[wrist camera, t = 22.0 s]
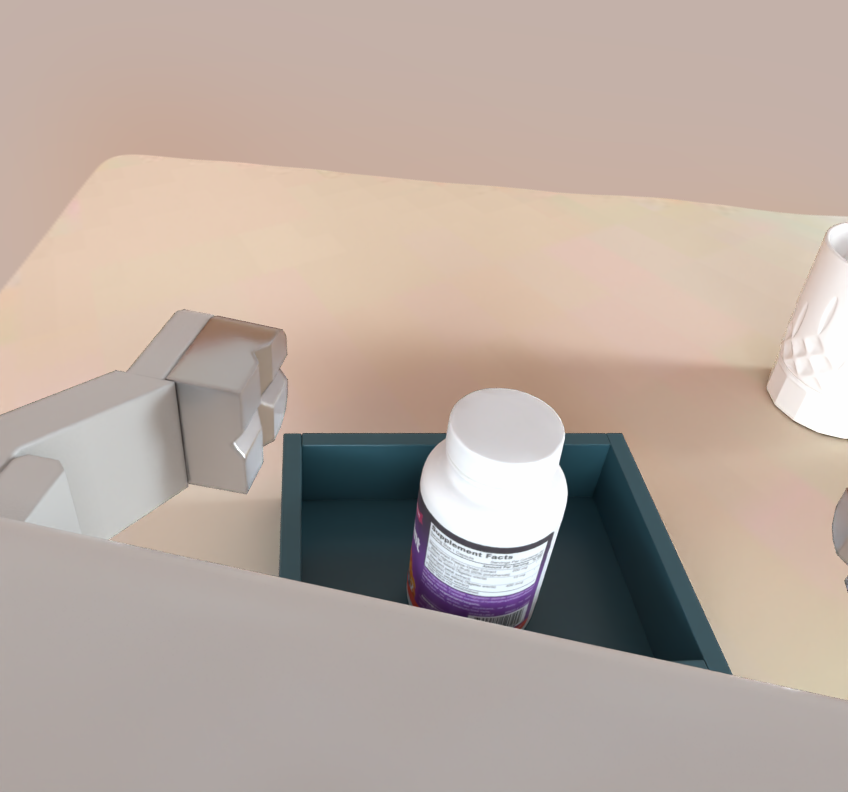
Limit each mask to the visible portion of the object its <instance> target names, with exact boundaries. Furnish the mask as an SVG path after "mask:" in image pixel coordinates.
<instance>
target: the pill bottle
mask: <svg viewBox="0 0 848 792" xmlns="http://www.w3.org/2000/svg"><path fill="white" fill-rule="evenodd" d="M564 440H565V431H564V426H563V423H562V421H561V419H560V417H559V416H558V414H557V413H556V412H555V411H554V410H553V409H552V408H551V407H550V406H549V405H548V404H546V403H545V402H543V401H542V400H540V399H539V398H537V397H535V396H532V395H530V394H528V393H525V392H522V391H518V390H513V389H507V388H487V389H482V390H477V391H474V392H472V393H469V394H467V395H466V396H464V397H463V398H461V399H460V400H459V401H458V402H457V403H456V404H455V405H454V407H453V409H452V411H451V414H450V418H449V423H448V428H447V434H446V439H444V440H443V441H441V442H440V443H439V444H438V445H437V446H436V447H435V448H434V449H433V450H432V451H431V453H430V454H429V456H428V458H427V460H426V462H425V464H424V467H423V470H422V475H421V480H420V486H419V493H418V501H417V509H416V517H415V524H414V532H413V539H412V546H411V554H410V561H409V567H408V574H407V598H408V602H409V605H410V606H415V607H420V608H424V609H429V610H434V611H438V612H443V613H448V614H452V615H457V616H461V617H466V618H471V619H475V620H480V621H485V622H489V623H494V624H499V625H503V626H508V627H512V628H517V629H522V630H524V628H525V627H526V625H527V624H528V622H529V620H530V618H531V616H532V613H533V610H534V607H535V604H536V601H537V598H538V595H539V592H540V588H541V585H542V582H543V579H544V575H545V572H546V569H547V566H548V563H549V560H550V556H551V553H552V550H553V547H554V544H555V541H556V537H557V534H558V531H559V528H560V525H561V522H562V519H563V515H564V511H565V508H566V503H567V495H568V490H567V484H566V479H565V476H564V473H563V471H562V469H561V467H560V465H559V462H560V457H561V453H562V449H563V444H564Z"/></svg>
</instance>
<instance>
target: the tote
mask: <svg viewBox="0 0 848 792" xmlns="http://www.w3.org/2000/svg"><path fill="white" fill-rule="evenodd" d="M446 434H447V433H303V434H302V435H301V434H284V435H283V465H282V497H281V528H280V560H279V577H281V578H286V579H290V580H295V581H300V582H304V583H309V584H314V585H318V586H323V587H327V588H332V589H337V590H341V591H346V592H350V593H355V594H360V595H364V596H369V597H374V598H378V599H383V600H387V601H392V602H397V603H401V604H406V605H409V602H408V598H407V574H408V567H409V561H410V554H411V546H412V539H413V532H414V524H415V517H416V509H417V501H418V493H419V486H420V480H421V475H422V470H423V467H424V464H425V462H426V460H427V458H428V456H429V454H430V453H431V451H432V450H433V449H434V448H435V447H436V446H437V445H438V444H439V443H440V442H441V441H443V440H444V439H446ZM559 465H560V467H561V469H562V471H563V473H564V476H565V479H566V484H567V490H568V495H567V503H566V508H565V511H564V515H563V519H562V522H561V525H560V528H559V531H558V534H557V537H556V541H555V544H554V547H553V550H552V553H551V556H550V560H549V563H548V566H547V569H546V572H545V575H544V579H543V582H542V585H541V588H540V592H539V595H538V598H537V601H536V604H535V607H534V610H533V613H532V616H531V618H530V620H529V622H528V624H527V625H526V627H525V628H524V630H526V631H531V632H536V633H540V634H545V635H549V636H554V637H559V638H563V639H568V640H573V641H577V642H582V643H587V644H591V645H596V646H600V647H605V648H610V649H614V650H619V651H624V652H628V653H633V654H638V655H642V656H647V657H651V658H656V659H661V660H665V661H670V662H675V663H679V664H684V665H688V666H693V667H697V668H702V669H707V670H711V671H716V672H720V673H725V674H729V675H732V673H731V670H730V668H729V666H728V664H727V662H726V659H725V657H724V655H723V653H722V651H721V648H720V646H719V644H718V642H717V640H716V638H715V635H714V633H713V631H712V629H711V627H710V624H709V622H708V620H707V618H706V616H705V614H704V611H703V609H702V607H701V605H700V603H699V600H698V598H697V596H696V594H695V592H694V589H693V587H692V585H691V583H690V581H689V579H688V576H687V574H686V572H685V570H684V568H683V565H682V563H681V561H680V559H679V557H678V555H677V552H676V550H675V548H674V546H673V544H672V541H671V539H670V537H669V535H668V533H667V530H666V528H665V526H664V524H663V522H662V520H661V517H660V515H659V513H658V511H657V509H656V506H655V504H654V502H653V500H652V498H651V496H650V493H649V491H648V489H647V487H646V485H645V482H644V480H643V478H642V476H641V474H640V471H639V469H638V467H637V465H636V463H635V461H634V458H633V456H632V454H631V452H630V450H629V447H628V445H627V443H626V441H625V439H624V437H623V434H622V433H606V434H605V433H565V440H564V444H563V449H562V453H561V457H560V462H559Z"/></svg>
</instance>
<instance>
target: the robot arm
mask: <svg viewBox="0 0 848 792" xmlns="http://www.w3.org/2000/svg"><path fill="white" fill-rule="evenodd" d="M286 356H287V338H286V334H285V332H284V331H283V329H278V328H273V327H269V326H264V325H259V324H255V323H250V322H245V321H240V320H236V319H231V318H226V317H222V316H214V315H211V314H206V313H201V312H196V311H191V310H186V309H183V310H180V311H177V312H175V313H174V314H173V316H172V317H171V318H170V319H169V320H168V322H167V323H166V324H165V325H164V327H163V328H162V329H161V330H160V331H159V333H158V334H157V335H156V336H155V337H154V339H153V340H152V341H151V342H150V344H149V345H148V346H147V347H146V348H145V350H144V351H143V352H142V353H141V354H140V356H139V357H138V358H137V359H136V361H135V362H134V363H133V364H132V365H131V367H130V368H129V369H128V370H127V371H126V372H122V371H117V370H115V371H113V372H110V373H108V374H105V375H102V376H100V377H97V378H95V379H92V380H89V381H87V382H84V383H82V384H79V385H77V386H74V387H71V388H69V389H66V390H64V391H61V392H58V393H56V394H53V395H51V396H48V397H45V398H43V399H40V400H38V401H35V402H33V403H30V404H27V405H25V406H22V407H20V408H17V409H14V410H12V411H9V412H7V413H4V414H2V415H0V792H848V700H844V699H839V698H835V697H830V696H825V695H821V694H816V693H812V692H807V691H803V690H798V689H793V688H789V687H784V686H780V685H775V684H771V683H766V682H761V681H757V680H752V679H748V678H743V677H739V676H734V675H729V674H725V673H720V672H716V671H711V670H707V669H702V668H697V667H693V666H688V665H684V664H679V663H675V662H670V661H665V660H661V659H656V658H651V657H647V656H642V655H638V654H633V653H628V652H624V651H619V650H614V649H610V648H605V647H600V646H596V645H591V644H587V643H582V642H577V641H573V640H568V639H563V638H559V637H554V636H549V635H545V634H540V633H536V632H531V631H526V630H522V629H517V628H512V627H508V626H503V625H499V624H494V623H489V622H485V621H480V620H475V619H471V618H466V617H461V616H457V615H452V614H448V613H443V612H438V611H434V610H429V609H424V608H420V607H415V606H410V605H406V604H401V603H397V602H392V601H387V600H383V599H378V598H374V597H369V596H364V595H360V594H355V593H350V592H346V591H341V590H337V589H332V588H327V587H323V586H318V585H314V584H309V583H304V582H300V581H295V580H290V579H286V578H281V577H277V576H272V575H267V574H263V573H258V572H254V571H249V570H244V569H240V568H235V567H230V566H226V565H221V564H217V563H212V562H207V561H203V560H198V559H193V558H189V557H184V556H180V555H175V554H170V553H166V552H161V551H157V550H152V549H147V548H143V547H138V546H133V545H129V544H124V543H120V542H115V541H110V540H109V539H111V538H112V537H114V536H115V535H117V534H118V533H120V532H121V531H123V530H124V529H126V528H127V527H129V526H130V525H132V524H133V523H135V522H136V521H138V520H139V519H141V518H142V517H144V516H145V515H147V514H148V513H150V512H151V511H153V510H154V509H156V508H157V507H159V506H160V505H162V504H163V503H165V502H166V501H168V500H169V499H171V498H172V497H174V496H175V495H177V494H178V493H180V492H181V491H183V490H184V489H186V488H187V487H188V484H193V485H198V486H204V487H209V488H215V489H220V490H226V491H231V492H237V493H243V494H247V493H248V491H249V489H250V487H251V485H252V483H253V481H254V479H255V477H256V475H257V473H258V472H259V470H260V468H261V466H262V464H263V446H265V445H267V444H269V443H271V442H273V441H274V440H275V438H276V436H277V434H278V432H279V430H280V428H281V424H282V421H283V417H284V414H285V410H286V404H287V396H288V379H287V378H286V376H285V375H284V374H283V372H282V371H281V370H280V367H281V365H282V363H283V362H284V360H285V358H286ZM832 534H833V542H834V546H835V550H836V554H837V555H838V556H839V557H840V558H841V559H842V560H843V561H844V562H845V563H846V564H847V565H848V488H846V490H845V491H844V493H843V495H842V497H841V499H840V500H839V502H838V504H837V506H836V510H835V514H834V519H833V523H832ZM845 584H846V588H847V591H848V576H847V578H846V579H845Z"/></svg>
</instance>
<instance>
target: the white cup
mask: <svg viewBox="0 0 848 792" xmlns="http://www.w3.org/2000/svg"><path fill="white" fill-rule="evenodd" d="M766 388H767V391H768V392H769V394H770V396H771V398H772V400H773V402H774V404H775V405H776V406H777V407H778V408H779V409H780V410H782V411H783V412H784V413H785V414H786V415H787V416H789V417H790V418H791V419H792V420H794V421H795V422H797V423H799V424H801V425H803V426H805V427H807V428H809V429H812V430H814V431H816V432H818V433H821V434H825V435H830V436H834V437H839V438H843V439H848V222H845V223H840V224H837V225H834V226H832V227H831V228H829V229H828V230H827V232H826V234H825V236H824V239H823V241H822V243H821V246H820V248H819V251H818V253H817V255H816V258H815V260H814V263H813V265H812V267H811V270H810V272H809V274H808V277H807V279H806V281H805V284H804V286H803V288H802V291H801V293H800V295H799V298H798V300H797V303H796V307H795V309H794V312H793V314H792V316H791V318H790V321H789V323H788V326H787V330H786V332H785V334H784V336H783V339H782V341H781V344H780V351H779V354H778V356H777V358H776V361H775V363H774V365H773V368H772V370H771V372H770V375H769V379H768V383H767V387H766Z"/></svg>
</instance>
